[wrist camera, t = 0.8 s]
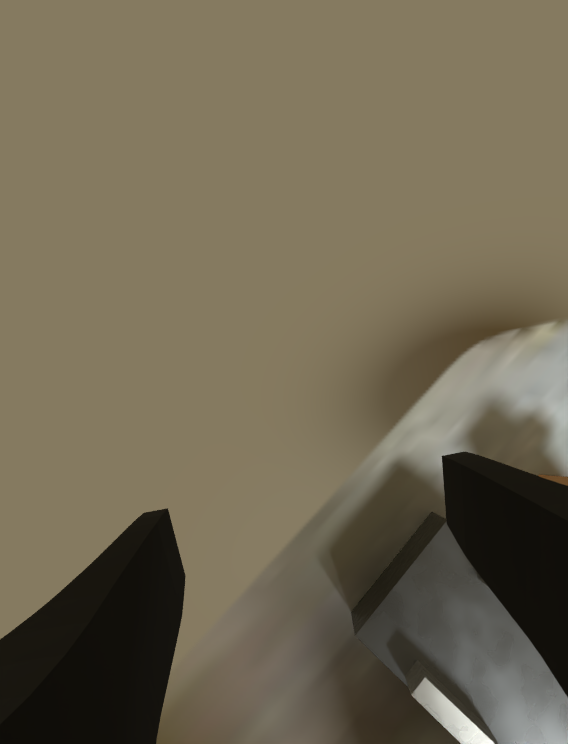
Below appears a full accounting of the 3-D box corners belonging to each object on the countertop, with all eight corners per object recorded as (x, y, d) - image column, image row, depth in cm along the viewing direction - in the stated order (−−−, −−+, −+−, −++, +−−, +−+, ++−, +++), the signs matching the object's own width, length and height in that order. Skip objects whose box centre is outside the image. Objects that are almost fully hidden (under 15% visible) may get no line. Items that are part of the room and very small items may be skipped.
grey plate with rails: (608, 662, 27) (684, 717, 22) (524, 777, 27) (579, 867, 21) (431, 511, 30) (457, 525, 24) (351, 612, 30) (357, 650, 24)
